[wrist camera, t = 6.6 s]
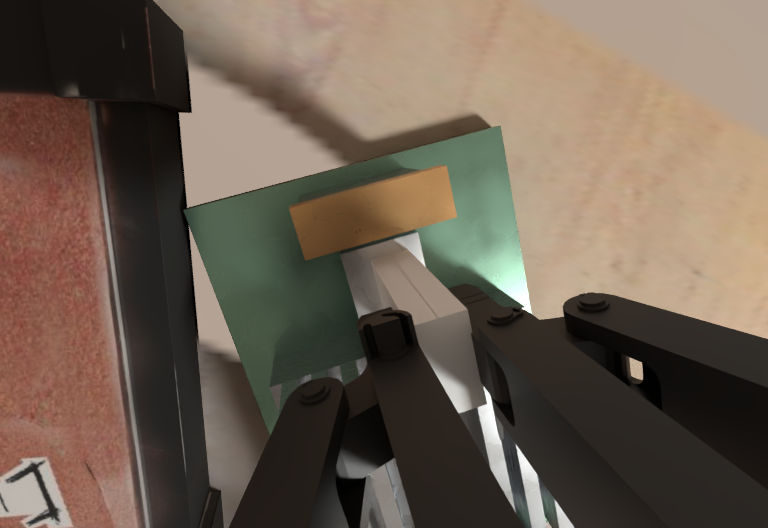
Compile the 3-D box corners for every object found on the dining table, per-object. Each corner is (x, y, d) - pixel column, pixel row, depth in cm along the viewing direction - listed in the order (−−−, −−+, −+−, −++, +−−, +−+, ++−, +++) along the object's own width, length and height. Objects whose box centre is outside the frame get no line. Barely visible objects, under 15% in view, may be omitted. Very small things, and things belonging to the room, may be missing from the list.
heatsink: (332, 585, 27) (341, 728, 20) (189, 207, 20) (131, 234, 13) (555, 503, 28) (633, 611, 22) (492, 126, 22) (575, 115, 15)
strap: (438, 595, 23) (443, 611, 22) (338, 248, 17) (340, 254, 16) (491, 575, 24) (497, 590, 23) (412, 227, 17) (417, 232, 16)
